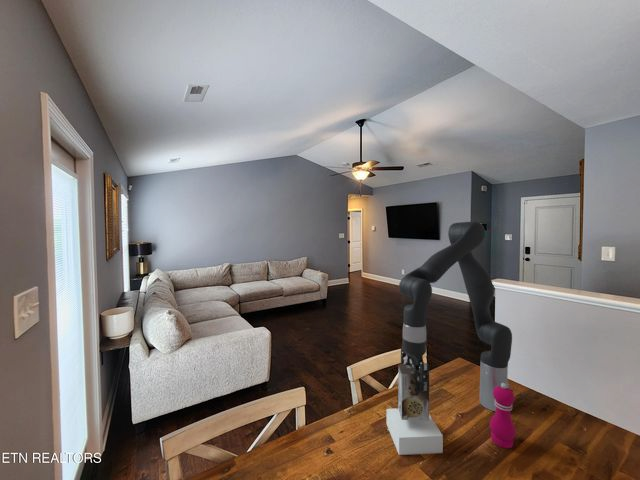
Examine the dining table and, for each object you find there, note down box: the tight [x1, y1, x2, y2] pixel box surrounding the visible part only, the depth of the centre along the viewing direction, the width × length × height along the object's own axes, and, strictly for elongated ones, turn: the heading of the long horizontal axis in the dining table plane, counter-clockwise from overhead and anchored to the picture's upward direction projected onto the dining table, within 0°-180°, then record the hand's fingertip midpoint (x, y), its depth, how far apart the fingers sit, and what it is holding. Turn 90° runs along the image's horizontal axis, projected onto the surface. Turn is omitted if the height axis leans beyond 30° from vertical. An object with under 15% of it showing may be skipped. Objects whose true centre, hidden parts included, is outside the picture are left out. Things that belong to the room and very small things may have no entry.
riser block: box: [385, 408, 444, 456], centre depth 98 cm, size 14×14×6 cm
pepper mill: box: [489, 383, 516, 449], centre depth 96 cm, size 7×7×20 cm
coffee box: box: [397, 363, 430, 421], centre depth 97 cm, size 9×6×16 cm
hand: (413, 384), depth 97 cm, fingers closed on coffee box, 7 cm apart
